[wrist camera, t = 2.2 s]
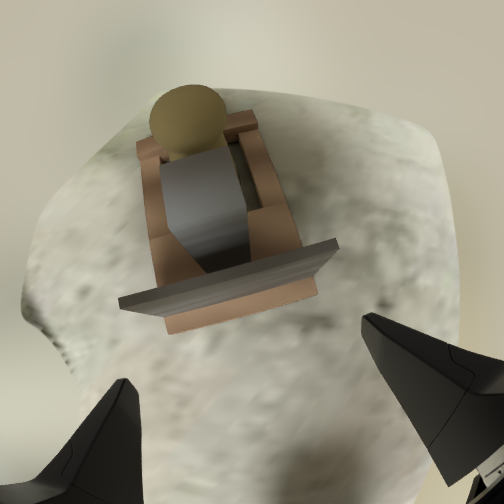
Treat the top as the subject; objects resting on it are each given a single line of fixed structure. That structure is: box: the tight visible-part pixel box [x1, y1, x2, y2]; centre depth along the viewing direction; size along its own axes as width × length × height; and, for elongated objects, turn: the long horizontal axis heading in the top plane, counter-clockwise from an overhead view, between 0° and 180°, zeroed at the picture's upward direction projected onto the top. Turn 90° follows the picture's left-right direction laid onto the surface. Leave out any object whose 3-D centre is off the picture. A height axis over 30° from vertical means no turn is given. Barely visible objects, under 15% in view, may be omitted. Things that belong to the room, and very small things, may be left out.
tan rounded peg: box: [149, 85, 241, 185], centre depth 20 cm, size 6×6×11 cm
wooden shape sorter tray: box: [118, 110, 340, 335], centre depth 18 cm, size 18×12×11 cm, turn 16°
